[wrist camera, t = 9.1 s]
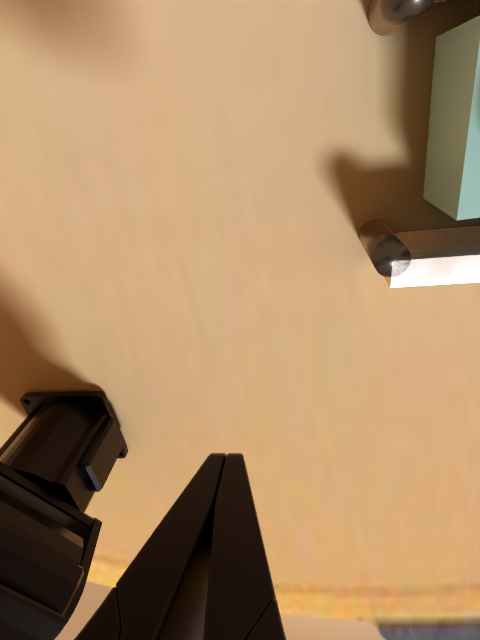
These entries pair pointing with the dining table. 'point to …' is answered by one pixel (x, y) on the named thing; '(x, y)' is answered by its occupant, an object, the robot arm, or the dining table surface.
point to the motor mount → (425, 245)
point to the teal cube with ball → (455, 124)
